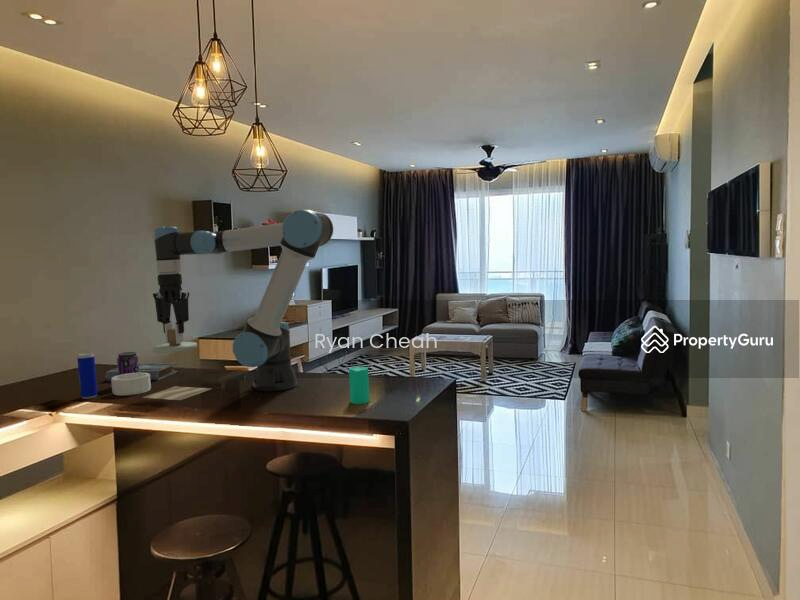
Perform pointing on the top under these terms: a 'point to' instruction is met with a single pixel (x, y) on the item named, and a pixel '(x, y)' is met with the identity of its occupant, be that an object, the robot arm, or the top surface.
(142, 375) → the bowl
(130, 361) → the beverage can
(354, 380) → the candle
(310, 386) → the top surface
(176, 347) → the lid
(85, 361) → the beverage can
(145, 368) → the book
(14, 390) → the top surface
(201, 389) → the trivet
